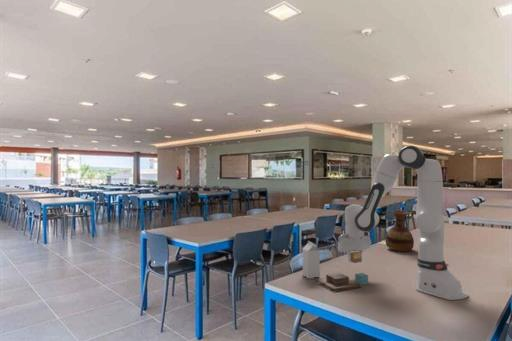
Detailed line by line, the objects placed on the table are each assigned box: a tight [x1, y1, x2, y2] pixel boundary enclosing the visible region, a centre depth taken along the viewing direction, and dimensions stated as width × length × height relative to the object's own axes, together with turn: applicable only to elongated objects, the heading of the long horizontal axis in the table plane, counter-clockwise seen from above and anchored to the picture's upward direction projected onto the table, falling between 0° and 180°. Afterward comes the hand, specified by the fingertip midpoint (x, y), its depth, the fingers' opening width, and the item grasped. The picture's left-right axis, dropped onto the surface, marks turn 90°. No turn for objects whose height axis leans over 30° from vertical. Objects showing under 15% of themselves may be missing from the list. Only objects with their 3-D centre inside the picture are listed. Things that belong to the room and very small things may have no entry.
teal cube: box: [354, 272, 369, 286], centre depth 164 cm, size 4×4×4 cm
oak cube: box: [348, 250, 363, 264], centre depth 176 cm, size 5×5×5 cm
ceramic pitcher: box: [385, 210, 415, 252], centre depth 242 cm, size 20×20×30 cm
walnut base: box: [315, 272, 362, 292], centre depth 162 cm, size 16×16×4 cm
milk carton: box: [302, 240, 321, 279], centre depth 176 cm, size 7×7×19 cm
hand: (355, 258), depth 176 cm, fingers closed on oak cube, 5 cm apart
